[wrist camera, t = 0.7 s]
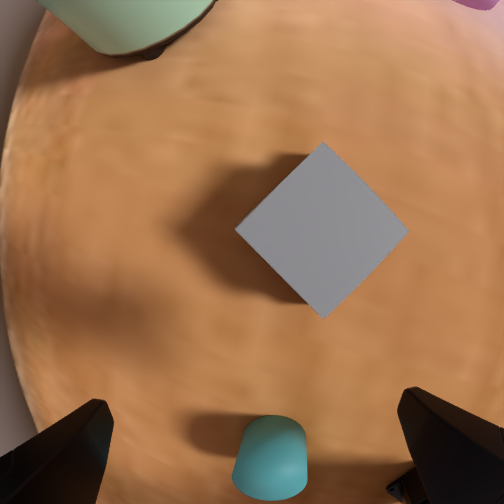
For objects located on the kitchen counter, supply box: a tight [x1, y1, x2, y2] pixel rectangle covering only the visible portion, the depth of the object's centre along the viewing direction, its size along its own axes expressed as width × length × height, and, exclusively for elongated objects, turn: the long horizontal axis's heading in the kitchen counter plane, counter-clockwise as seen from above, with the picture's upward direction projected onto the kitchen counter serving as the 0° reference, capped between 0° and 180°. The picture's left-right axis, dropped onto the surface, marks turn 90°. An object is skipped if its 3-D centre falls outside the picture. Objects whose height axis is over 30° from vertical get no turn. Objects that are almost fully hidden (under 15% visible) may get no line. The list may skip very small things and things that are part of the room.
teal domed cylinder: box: [232, 415, 308, 501], centre depth 18 cm, size 5×5×5 cm
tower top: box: [235, 142, 409, 319], centre depth 15 cm, size 6×6×3 cm
